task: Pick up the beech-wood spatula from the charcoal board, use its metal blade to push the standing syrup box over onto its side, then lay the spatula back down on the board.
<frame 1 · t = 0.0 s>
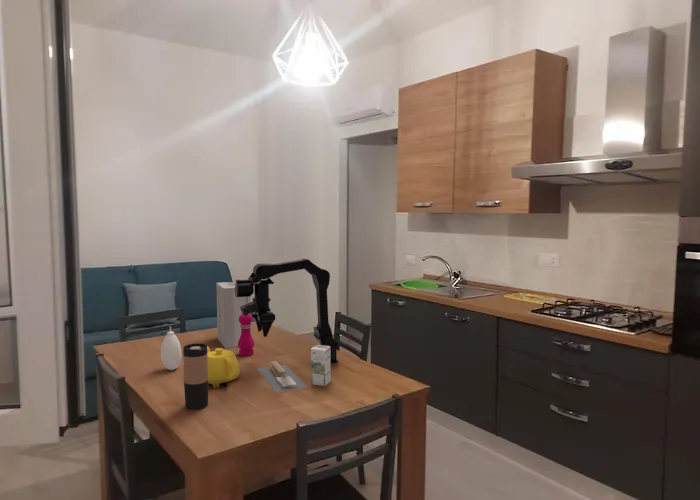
hand: (262, 334, 198), 15 cm above the table, tool pointing down, fingers open, 9 cm apart
air blower bulb: (171, 369, 199), on the table
teapot: (217, 381, 186), on the table
travel mug: (196, 406, 163), on the table
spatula: (281, 377, 187), point 1 cm above the table, touching charcoal board
pepper mill: (246, 354, 220), on the table
syrup box: (321, 386, 182), on the table
charcoal board: (281, 380, 187), on the table
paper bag: (236, 341, 241), on the table
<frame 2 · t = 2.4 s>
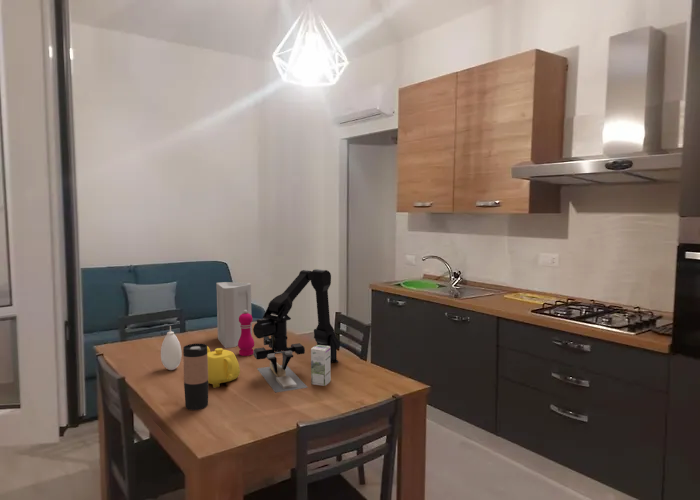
hand: (279, 373, 188), 2 cm above the table, tool pointing down, fingers closed on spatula, 2 cm apart
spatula: (281, 377, 187), point 1 cm above the table, touching charcoal board, gripper
everything else where it was.
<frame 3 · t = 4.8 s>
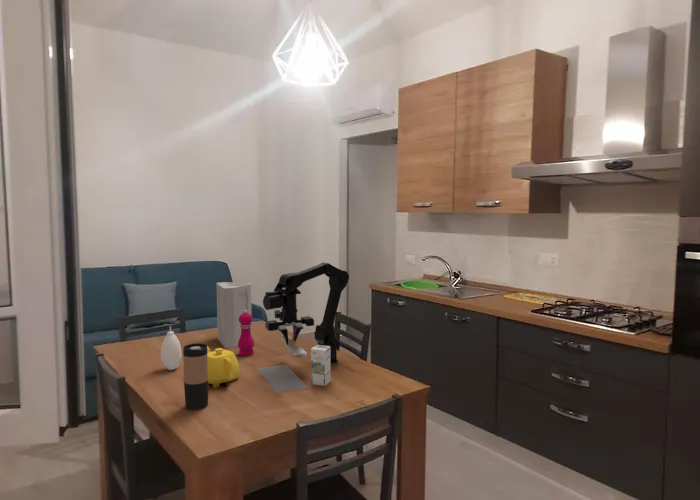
hand: (290, 344, 198), 11 cm above the table, tool pointing down, fingers closed on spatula, 2 cm apart
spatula: (292, 348, 196), point 10 cm above the table, touching gripper
everything else where it was.
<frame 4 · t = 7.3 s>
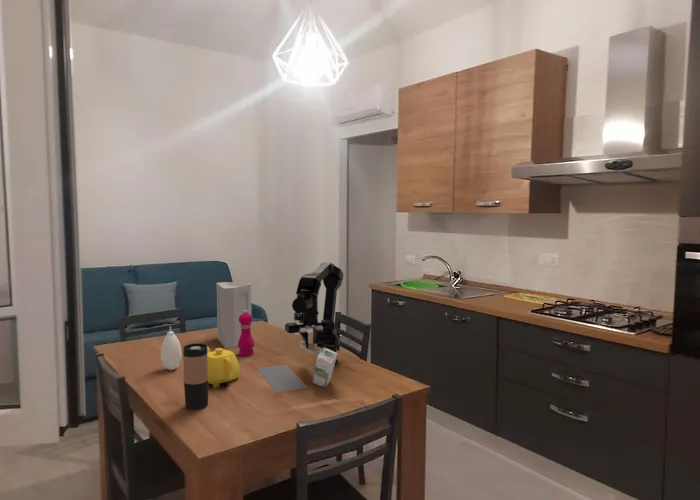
hand: (310, 347, 191), 11 cm above the table, tool pointing down, fingers closed on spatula, 2 cm apart
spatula: (312, 351, 189), point 10 cm above the table, tilted 10°, touching gripper
syrup box: (321, 380, 181), point 2 cm above the table
everything else where it was.
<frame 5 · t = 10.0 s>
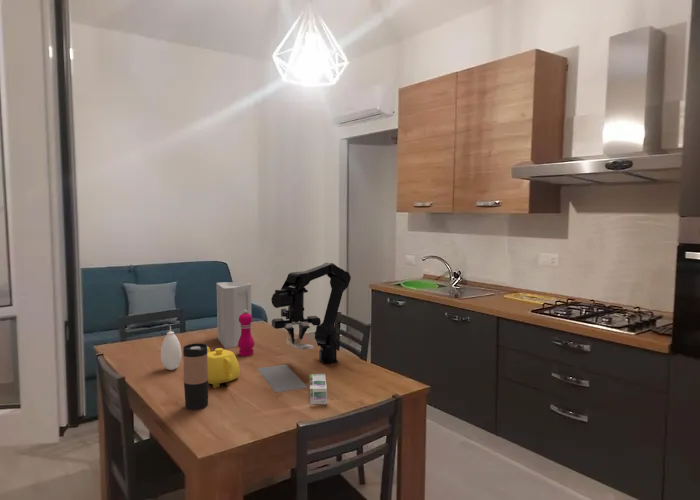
hand: (296, 343, 196), 11 cm above the table, tool pointing down, fingers closed on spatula, 2 cm apart
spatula: (297, 346, 194), point 11 cm above the table, tilted 10°, touching gripper
syrup box: (317, 381, 178), point 3 cm above the table
everything else where it was.
when the fingers open (3 cm above the table, at t = 12.3 s): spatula drops 1 cm, resting on charcoal board.
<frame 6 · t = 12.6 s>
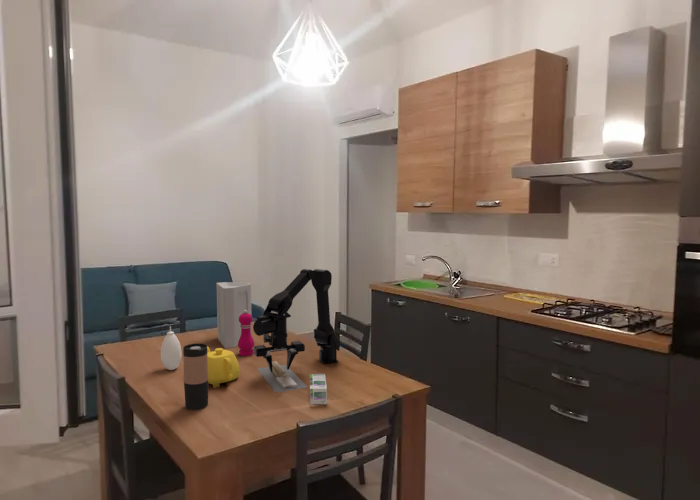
hand: (279, 370, 188), 3 cm above the table, tool pointing down, fingers open, 6 cm apart
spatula: (281, 377, 187), point 1 cm above the table, touching charcoal board
everything else where it was.
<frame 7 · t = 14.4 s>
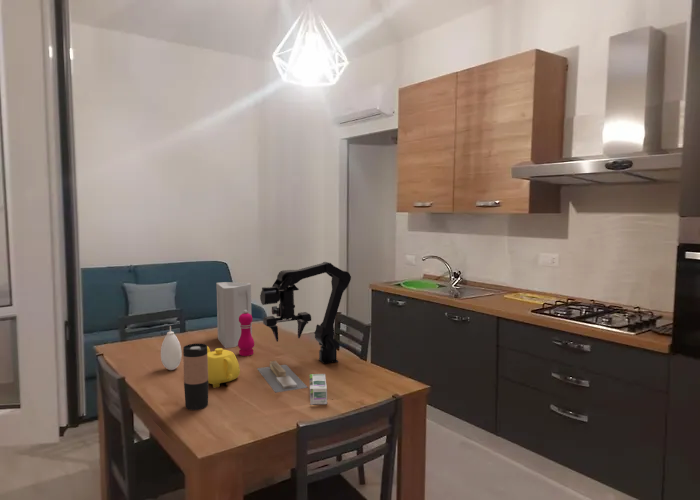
hand: (288, 339, 201), 12 cm above the table, tool pointing down, fingers open, 9 cm apart
nothing on the table moved.
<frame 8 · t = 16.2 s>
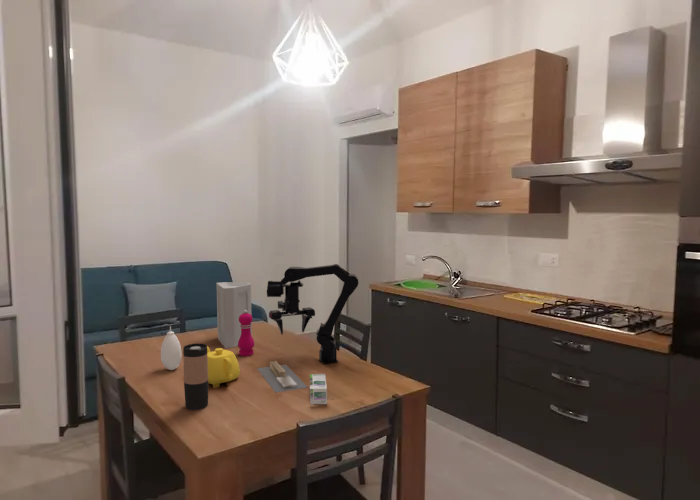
hand: (292, 333, 209), 12 cm above the table, tool pointing down, fingers open, 9 cm apart
nothing on the table moved.
at the end: syrup box tilted 89°; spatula inside the target area on the charcoal board (0.1 cm from its centre), point 1.2 cm above the charcoal board's base; the gripper is holding nothing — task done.
